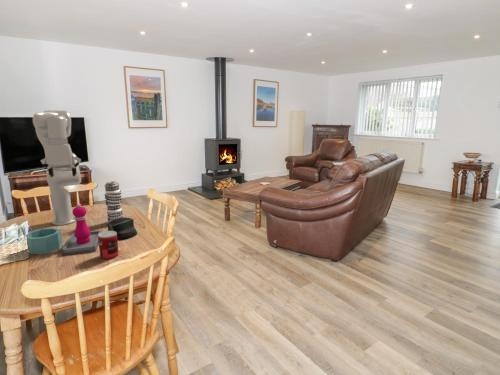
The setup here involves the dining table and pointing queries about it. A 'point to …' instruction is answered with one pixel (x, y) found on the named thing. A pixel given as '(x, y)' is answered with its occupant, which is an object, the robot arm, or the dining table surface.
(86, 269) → the dining table surface
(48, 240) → the crock
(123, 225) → the black hat
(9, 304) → the dining table surface
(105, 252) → the canned food
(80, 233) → the pepper mill
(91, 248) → the tray
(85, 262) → the dining table surface
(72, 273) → the dining table surface
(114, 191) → the gray white banded cylinder
